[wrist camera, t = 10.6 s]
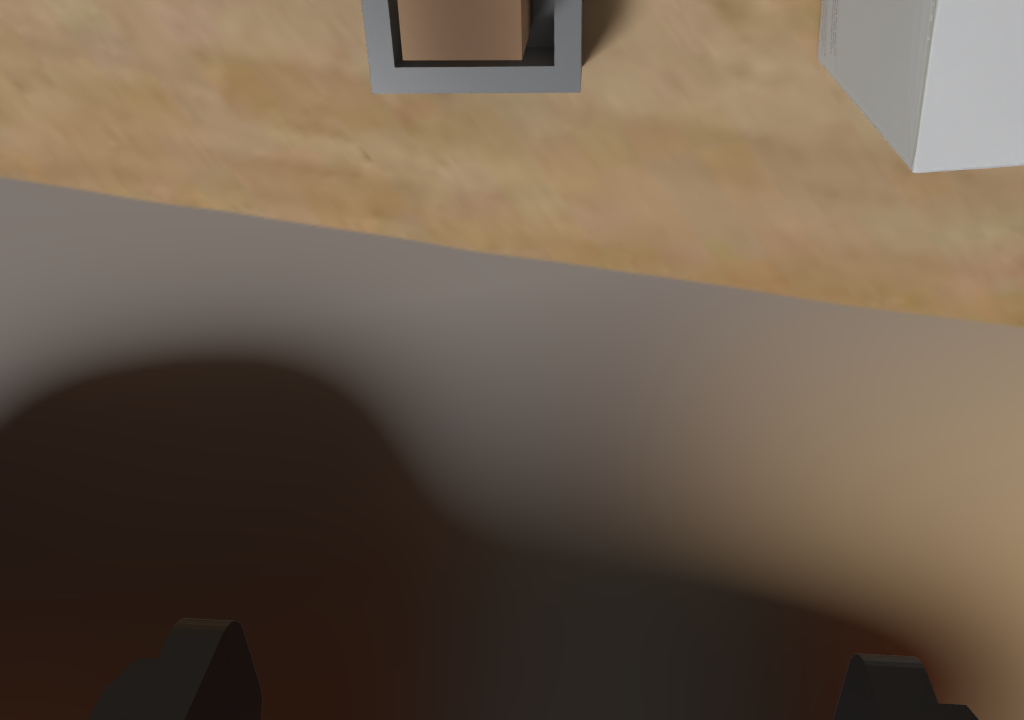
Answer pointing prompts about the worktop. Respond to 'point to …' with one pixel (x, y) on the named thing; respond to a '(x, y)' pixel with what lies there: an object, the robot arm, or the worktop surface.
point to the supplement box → (933, 76)
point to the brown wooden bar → (464, 29)
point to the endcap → (541, 70)
